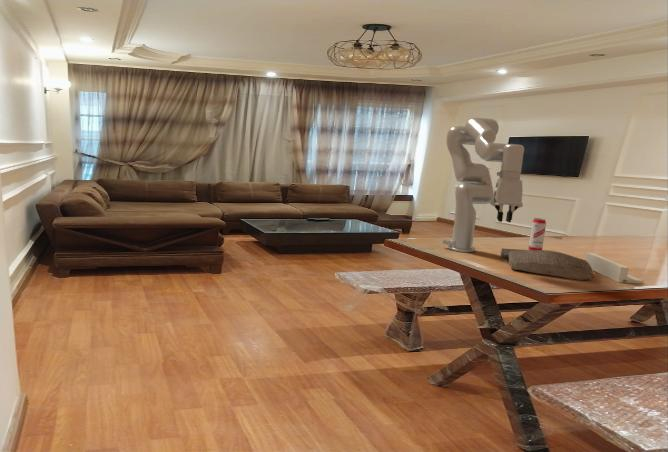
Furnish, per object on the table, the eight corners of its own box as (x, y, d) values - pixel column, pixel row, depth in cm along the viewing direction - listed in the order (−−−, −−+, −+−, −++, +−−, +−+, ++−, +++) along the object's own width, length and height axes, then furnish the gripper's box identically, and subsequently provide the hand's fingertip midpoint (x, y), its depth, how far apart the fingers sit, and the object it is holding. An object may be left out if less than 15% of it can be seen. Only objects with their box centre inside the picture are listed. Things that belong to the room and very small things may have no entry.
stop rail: (618, 282, 173) (621, 267, 172) (584, 265, 197) (586, 252, 196) (642, 283, 173) (645, 268, 172) (605, 267, 197) (607, 253, 196)
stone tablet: (509, 272, 180) (593, 283, 171) (512, 252, 178) (596, 262, 169) (506, 261, 199) (582, 270, 190) (509, 243, 197) (585, 251, 188)
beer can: (544, 252, 219) (549, 220, 216) (531, 251, 219) (536, 219, 216) (538, 249, 225) (543, 218, 223) (526, 248, 225) (530, 217, 223)
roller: (504, 256, 199) (504, 247, 201) (501, 259, 203) (500, 249, 205) (527, 258, 199) (526, 248, 201) (522, 260, 204) (522, 251, 205)
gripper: (493, 175, 174) (487, 221, 177) (534, 178, 174) (527, 224, 178) (486, 174, 181) (480, 218, 185) (526, 176, 182) (520, 221, 185)
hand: (504, 221), depth 181 cm, fingers open, 2 cm apart
